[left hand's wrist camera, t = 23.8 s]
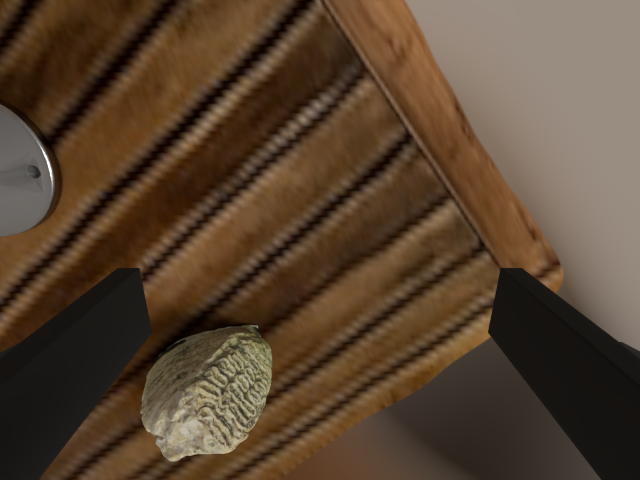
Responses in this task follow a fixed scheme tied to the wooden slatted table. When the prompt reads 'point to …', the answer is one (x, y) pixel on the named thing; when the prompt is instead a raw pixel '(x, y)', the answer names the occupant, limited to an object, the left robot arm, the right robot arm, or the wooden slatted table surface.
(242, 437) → the fossil
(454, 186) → the wooden slatted table surface
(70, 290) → the wooden slatted table surface
